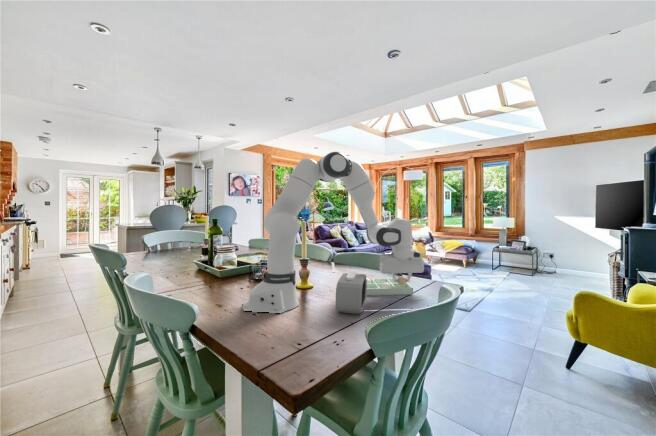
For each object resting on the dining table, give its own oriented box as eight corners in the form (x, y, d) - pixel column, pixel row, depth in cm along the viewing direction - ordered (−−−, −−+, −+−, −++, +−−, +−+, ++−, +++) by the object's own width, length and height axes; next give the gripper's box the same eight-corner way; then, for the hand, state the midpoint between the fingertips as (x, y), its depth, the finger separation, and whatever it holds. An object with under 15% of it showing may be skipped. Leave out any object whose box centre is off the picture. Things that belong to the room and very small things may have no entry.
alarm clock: (361, 319, 100) (361, 283, 99) (335, 316, 102) (335, 281, 102) (366, 299, 120) (367, 269, 119) (345, 298, 122) (345, 268, 122)
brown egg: (398, 287, 126) (398, 277, 126) (395, 284, 131) (395, 275, 131) (407, 287, 127) (407, 277, 126) (404, 284, 131) (404, 275, 131)
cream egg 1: (363, 288, 133) (363, 279, 133) (361, 285, 138) (361, 277, 137) (372, 288, 134) (372, 279, 133) (370, 285, 138) (370, 277, 138)
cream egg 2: (382, 293, 126) (382, 284, 126) (379, 290, 131) (379, 281, 130) (391, 293, 126) (391, 283, 126) (389, 290, 131) (389, 281, 131)
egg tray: (362, 296, 124) (362, 288, 124) (357, 286, 139) (357, 279, 139) (412, 295, 125) (413, 287, 125) (401, 285, 141) (402, 278, 140)
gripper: (381, 254, 124) (381, 284, 125) (425, 253, 125) (425, 283, 126) (378, 251, 130) (377, 280, 131) (420, 251, 132) (419, 279, 132)
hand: (401, 282), depth 129 cm, fingers closed on brown egg, 4 cm apart
